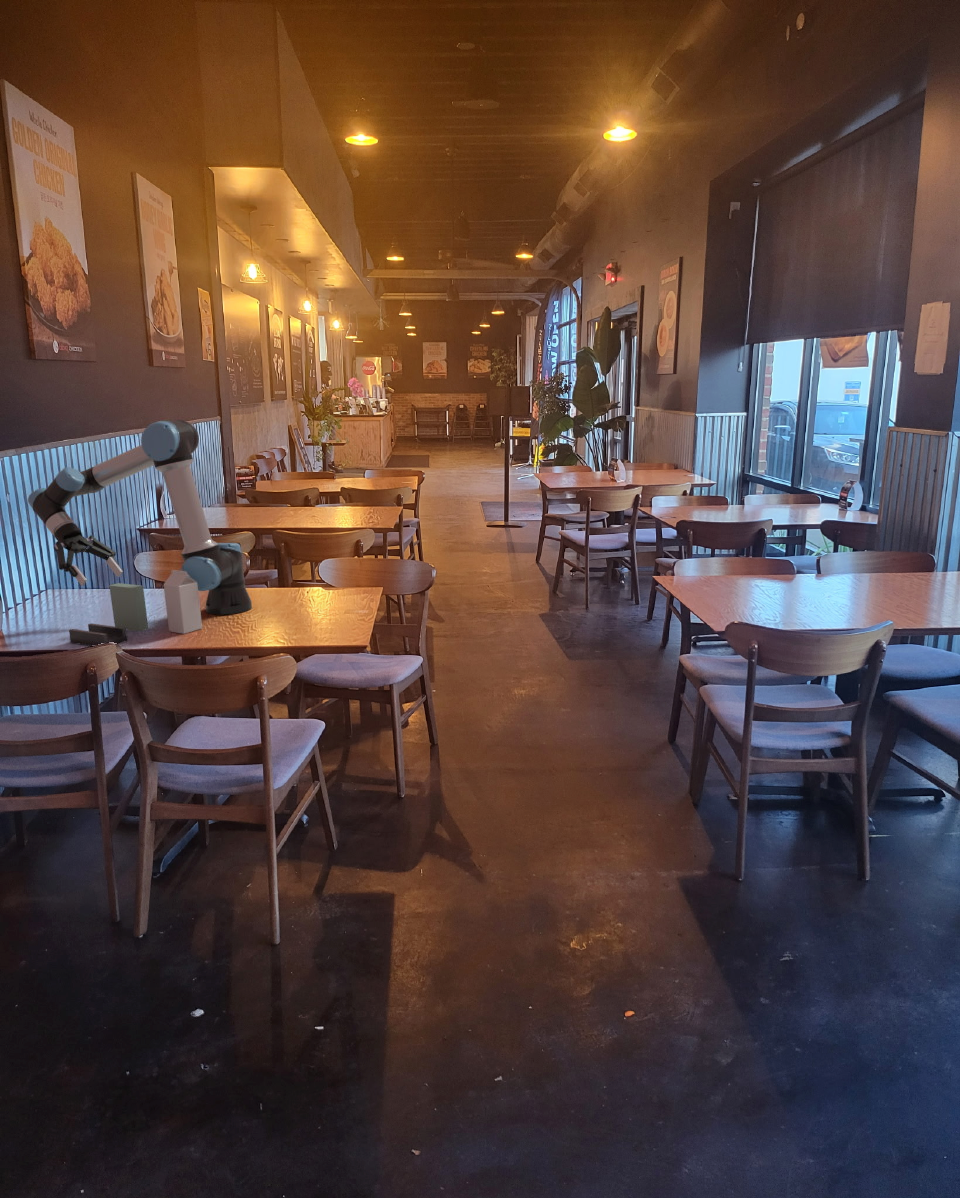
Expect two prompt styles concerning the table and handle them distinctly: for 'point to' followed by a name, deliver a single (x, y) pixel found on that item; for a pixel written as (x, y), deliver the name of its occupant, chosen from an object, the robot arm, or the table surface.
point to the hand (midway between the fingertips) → (102, 578)
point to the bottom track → (98, 635)
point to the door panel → (129, 606)
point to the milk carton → (182, 603)
